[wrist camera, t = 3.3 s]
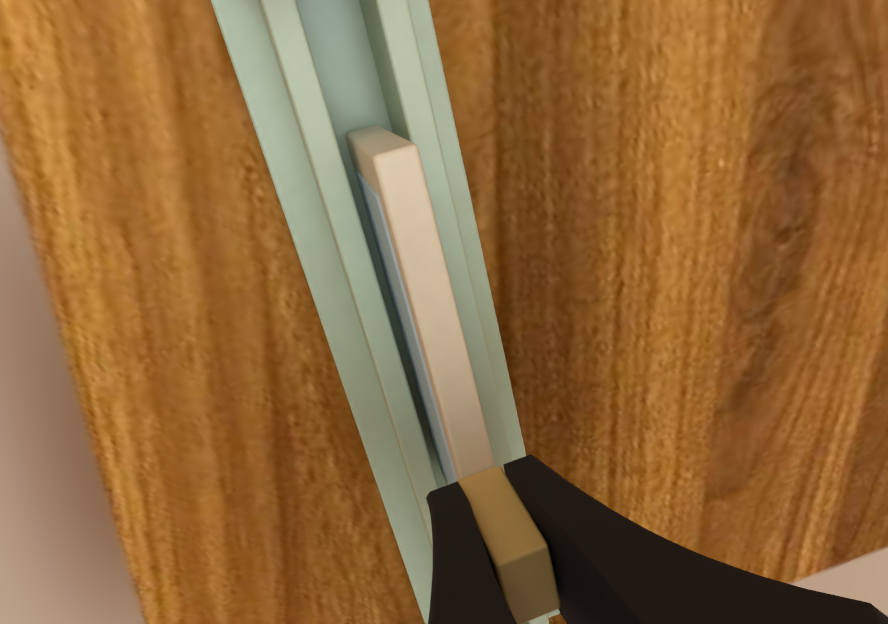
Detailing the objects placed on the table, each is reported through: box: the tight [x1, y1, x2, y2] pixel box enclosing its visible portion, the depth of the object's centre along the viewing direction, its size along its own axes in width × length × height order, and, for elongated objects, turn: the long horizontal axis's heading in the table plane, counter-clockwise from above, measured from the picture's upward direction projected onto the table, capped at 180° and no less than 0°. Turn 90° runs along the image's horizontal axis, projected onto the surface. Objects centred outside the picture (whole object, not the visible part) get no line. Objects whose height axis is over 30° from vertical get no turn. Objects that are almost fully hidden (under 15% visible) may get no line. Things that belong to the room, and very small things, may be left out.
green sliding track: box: [211, 0, 560, 624], centre depth 16 cm, size 21×4×4 cm, turn 13°
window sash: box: [345, 125, 561, 624], centre depth 13 cm, size 10×1×6 cm, turn 13°
